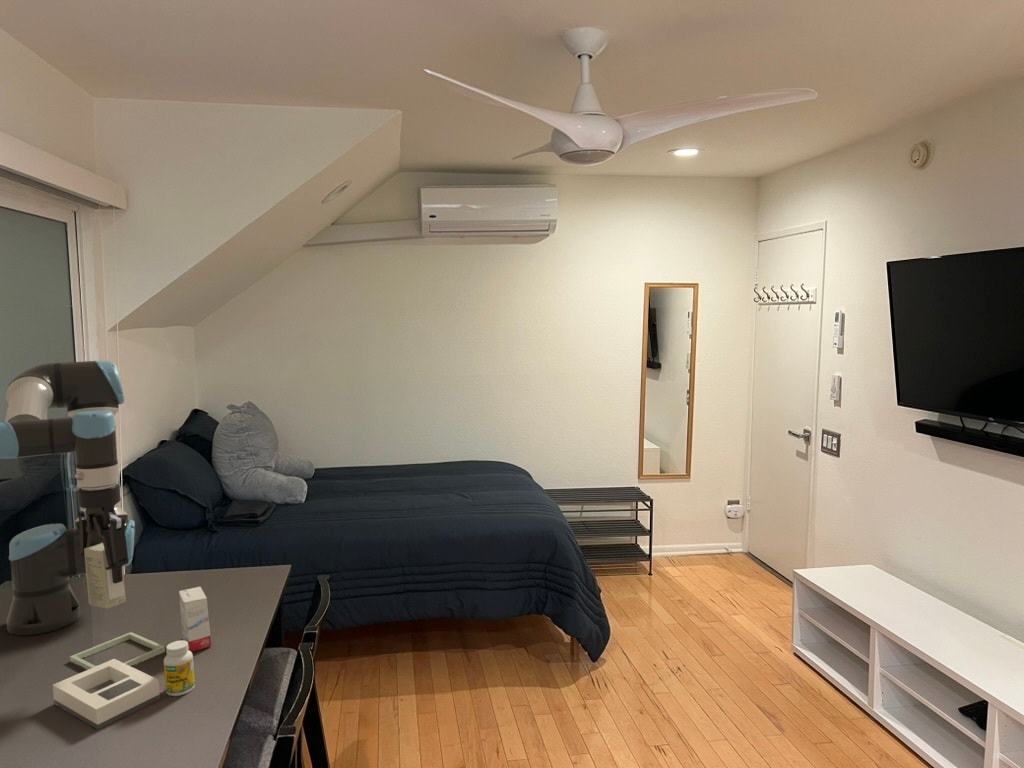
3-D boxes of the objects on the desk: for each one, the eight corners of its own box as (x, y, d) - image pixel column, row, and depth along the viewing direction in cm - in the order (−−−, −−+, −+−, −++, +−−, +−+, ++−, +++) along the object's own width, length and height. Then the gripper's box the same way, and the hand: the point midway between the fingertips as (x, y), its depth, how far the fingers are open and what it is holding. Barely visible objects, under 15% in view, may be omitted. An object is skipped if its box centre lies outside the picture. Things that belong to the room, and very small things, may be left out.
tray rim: (70, 661, 156) (69, 656, 155) (131, 636, 167) (130, 631, 167) (103, 678, 148) (103, 673, 148) (165, 651, 160) (164, 646, 160)
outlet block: (54, 704, 139) (52, 684, 139) (115, 676, 149) (114, 658, 149) (98, 729, 131) (96, 709, 130) (159, 698, 141) (158, 679, 140)
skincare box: (126, 601, 149) (123, 545, 148) (107, 609, 146) (103, 552, 144) (106, 596, 152) (103, 541, 151) (86, 604, 148) (83, 547, 147)
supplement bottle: (197, 681, 147) (194, 637, 146) (191, 695, 142) (189, 649, 141) (169, 684, 146) (166, 640, 145) (162, 698, 141) (159, 652, 140)
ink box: (211, 647, 162) (208, 598, 160) (187, 653, 159) (184, 603, 157) (204, 632, 169) (201, 585, 167) (181, 638, 166) (178, 590, 165)
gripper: (55, 484, 148) (63, 591, 150) (106, 495, 138) (114, 609, 140) (92, 477, 155) (99, 579, 157) (143, 487, 144) (150, 596, 147)
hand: (106, 593), depth 149 cm, fingers closed on skincare box, 6 cm apart
